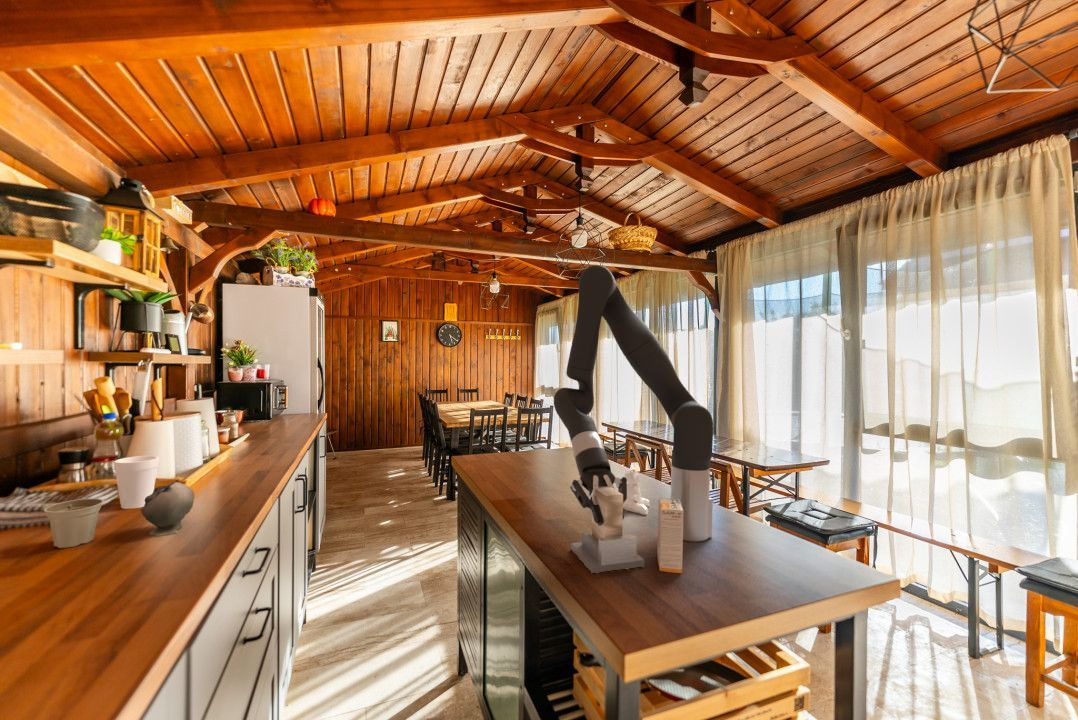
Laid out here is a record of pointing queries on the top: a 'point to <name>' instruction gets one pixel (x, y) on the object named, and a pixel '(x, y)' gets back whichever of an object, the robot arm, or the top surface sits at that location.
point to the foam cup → (135, 479)
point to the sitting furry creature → (634, 494)
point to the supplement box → (670, 535)
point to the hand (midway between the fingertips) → (610, 522)
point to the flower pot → (73, 521)
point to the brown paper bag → (609, 513)
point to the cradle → (608, 552)
